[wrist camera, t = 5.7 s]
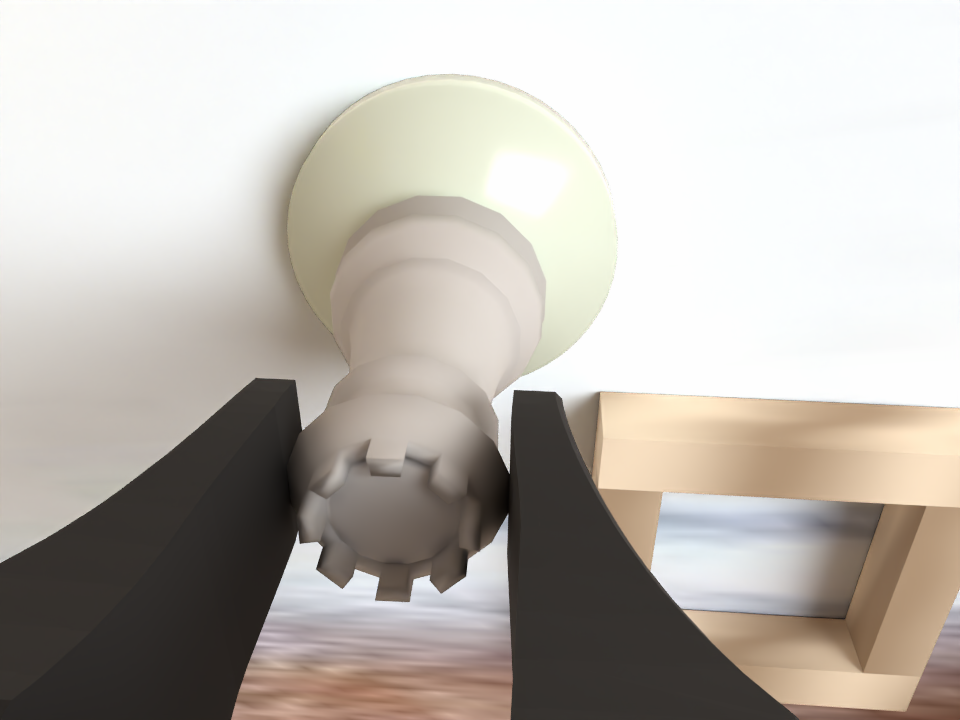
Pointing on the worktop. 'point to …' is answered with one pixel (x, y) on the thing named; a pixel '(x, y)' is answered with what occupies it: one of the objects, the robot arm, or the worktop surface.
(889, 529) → the pocket block
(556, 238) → the coaster
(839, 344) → the worktop surface
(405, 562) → the rook chess piece
